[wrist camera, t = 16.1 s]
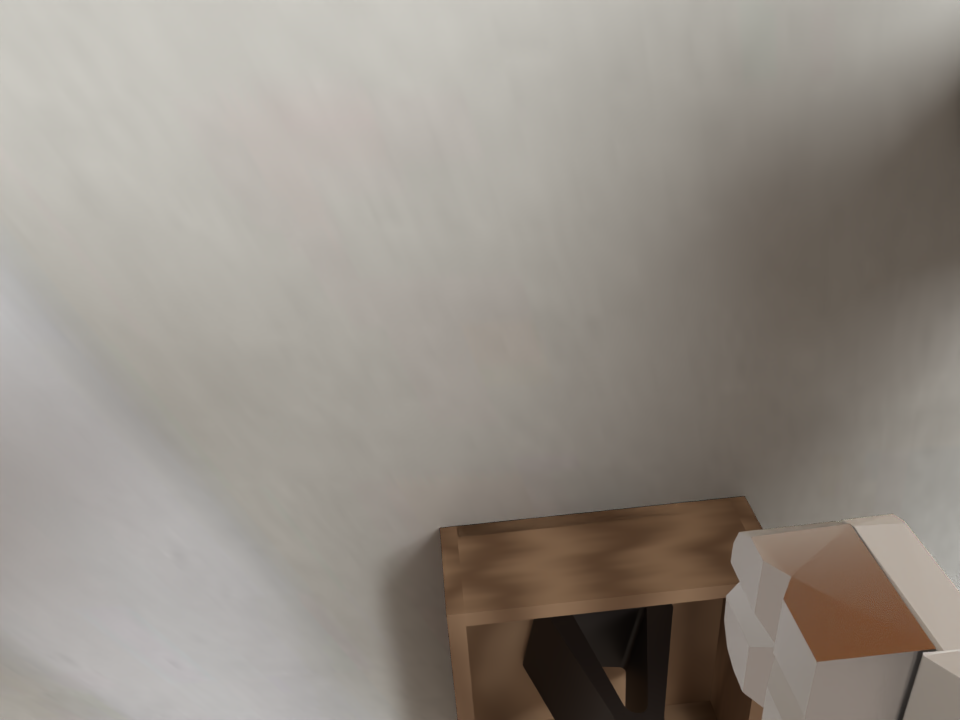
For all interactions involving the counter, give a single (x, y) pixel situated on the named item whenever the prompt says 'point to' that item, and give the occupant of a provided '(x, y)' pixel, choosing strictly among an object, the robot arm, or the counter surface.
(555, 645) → the phone stand
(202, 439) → the counter surface
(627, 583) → the walnut box
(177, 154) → the counter surface
